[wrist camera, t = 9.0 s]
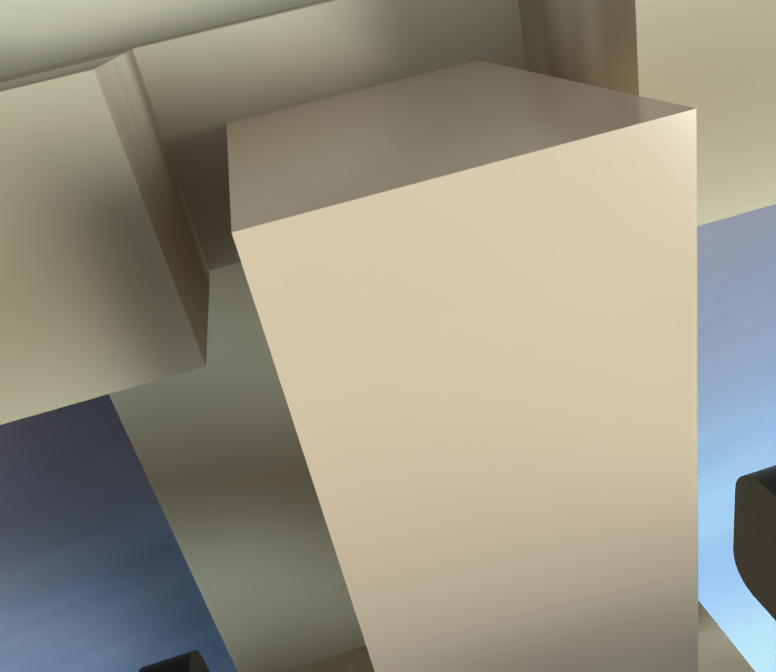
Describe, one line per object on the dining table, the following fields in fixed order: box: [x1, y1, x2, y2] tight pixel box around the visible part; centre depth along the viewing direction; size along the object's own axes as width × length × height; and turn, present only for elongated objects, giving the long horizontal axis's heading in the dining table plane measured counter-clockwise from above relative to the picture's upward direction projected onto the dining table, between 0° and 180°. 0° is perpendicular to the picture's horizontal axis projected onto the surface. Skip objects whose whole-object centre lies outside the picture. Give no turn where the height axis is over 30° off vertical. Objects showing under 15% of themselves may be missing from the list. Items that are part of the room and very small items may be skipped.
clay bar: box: [226, 60, 698, 672], centre depth 10 cm, size 14×4×5 cm, turn 12°
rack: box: [0, 0, 776, 672], centre depth 12 cm, size 18×10×6 cm, turn 12°
